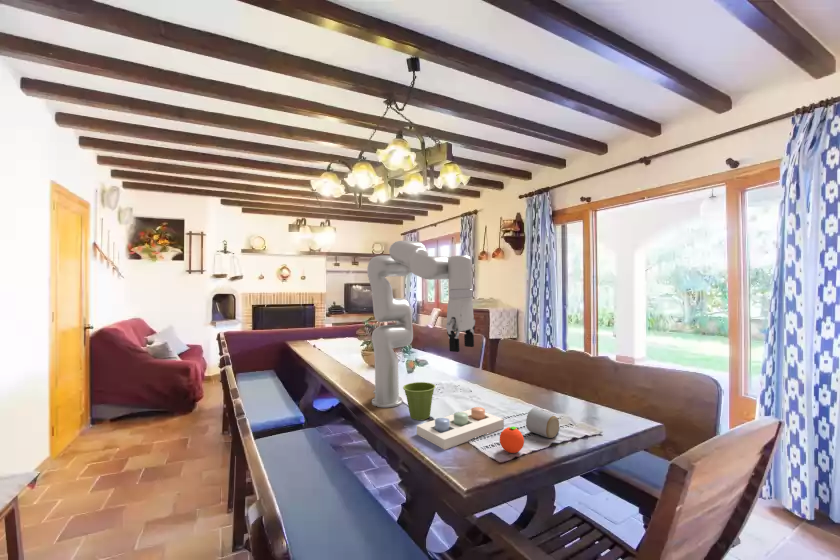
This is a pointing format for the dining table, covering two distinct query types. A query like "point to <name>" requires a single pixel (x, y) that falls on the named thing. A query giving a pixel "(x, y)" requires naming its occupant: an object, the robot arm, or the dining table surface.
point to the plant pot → (419, 399)
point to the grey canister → (542, 423)
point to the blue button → (442, 425)
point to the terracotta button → (478, 413)
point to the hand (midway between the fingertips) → (462, 349)
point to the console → (459, 430)
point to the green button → (461, 419)
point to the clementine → (511, 440)
